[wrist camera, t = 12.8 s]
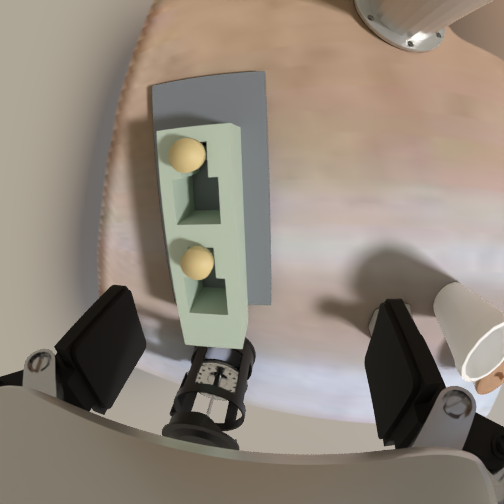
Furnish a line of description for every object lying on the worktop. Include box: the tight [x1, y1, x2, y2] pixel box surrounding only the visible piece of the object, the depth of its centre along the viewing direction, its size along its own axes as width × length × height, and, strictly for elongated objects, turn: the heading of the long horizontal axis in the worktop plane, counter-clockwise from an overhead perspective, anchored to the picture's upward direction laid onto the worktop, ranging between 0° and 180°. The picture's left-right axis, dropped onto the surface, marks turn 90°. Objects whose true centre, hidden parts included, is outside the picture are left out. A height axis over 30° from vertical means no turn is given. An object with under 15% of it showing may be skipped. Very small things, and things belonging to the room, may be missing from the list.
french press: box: [162, 338, 256, 450], centre depth 30 cm, size 12×9×23 cm
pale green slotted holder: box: [157, 123, 249, 349], centre depth 30 cm, size 24×7×6 cm, turn 2°
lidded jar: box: [472, 360, 504, 394], centre depth 32 cm, size 11×11×9 cm
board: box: [152, 71, 271, 305], centre depth 28 cm, size 28×13×9 cm, turn 2°
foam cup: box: [433, 282, 504, 382], centre depth 28 cm, size 10×9×13 cm
